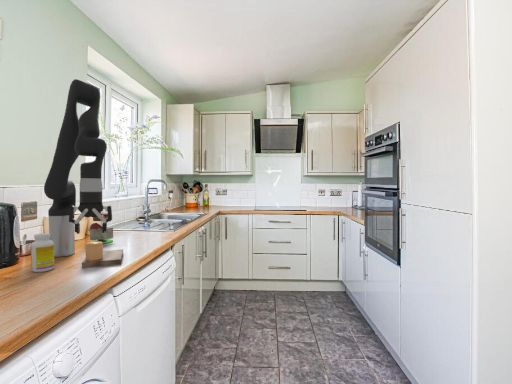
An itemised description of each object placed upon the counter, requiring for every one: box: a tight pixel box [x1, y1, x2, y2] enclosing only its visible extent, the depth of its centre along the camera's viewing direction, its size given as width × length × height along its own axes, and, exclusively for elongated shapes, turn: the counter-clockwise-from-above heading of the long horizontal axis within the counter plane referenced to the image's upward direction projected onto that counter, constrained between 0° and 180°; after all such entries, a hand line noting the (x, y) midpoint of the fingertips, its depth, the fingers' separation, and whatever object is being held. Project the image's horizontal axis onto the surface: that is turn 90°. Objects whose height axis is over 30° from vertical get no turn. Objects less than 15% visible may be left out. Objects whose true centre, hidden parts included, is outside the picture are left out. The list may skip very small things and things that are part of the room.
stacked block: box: [87, 212, 114, 245], centre depth 154 cm, size 12×13×15 cm
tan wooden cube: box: [84, 241, 104, 261], centre depth 113 cm, size 6×6×6 cm
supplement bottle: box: [30, 232, 56, 273], centre depth 106 cm, size 7×7×13 cm
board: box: [81, 248, 124, 269], centre depth 118 cm, size 13×18×2 cm
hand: (91, 233), depth 112 cm, fingers open, 8 cm apart
